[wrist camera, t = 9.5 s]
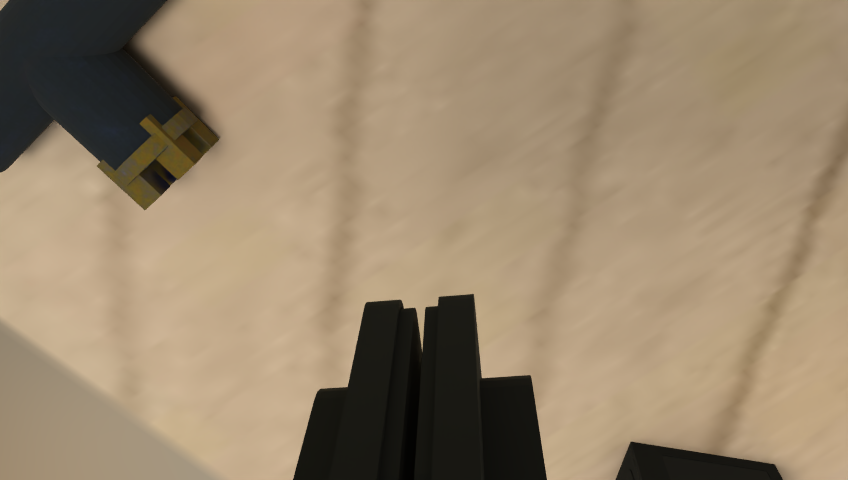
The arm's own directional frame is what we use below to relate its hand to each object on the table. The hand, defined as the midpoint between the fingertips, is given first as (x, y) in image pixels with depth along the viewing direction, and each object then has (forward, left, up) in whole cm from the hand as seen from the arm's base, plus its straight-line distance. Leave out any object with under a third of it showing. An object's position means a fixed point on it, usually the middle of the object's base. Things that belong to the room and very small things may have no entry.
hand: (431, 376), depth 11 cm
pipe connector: (+18, +1, -30) cm, 35 cm away
